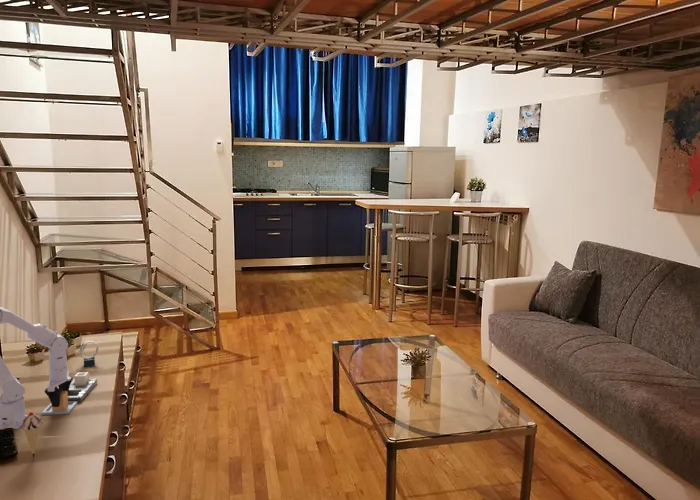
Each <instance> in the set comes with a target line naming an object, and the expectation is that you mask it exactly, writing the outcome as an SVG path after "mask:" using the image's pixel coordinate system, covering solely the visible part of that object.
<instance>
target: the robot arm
mask: <svg viewBox="0 0 700 500" xmlns="http://www.w3.org/2000/svg"><path fill="white" fill-rule="evenodd" d="M6 323H7V324H10V325H12V326H14V327H15V328H18V329H19V330H22V331H24V332H25V333H27V338H28V339H30V340H32V341H34V342H36V343H37V344H39V345H41V346H43V347H46V348H48V367H49V370H48V371H49V373H48V374H49V379H48V386H47V387H46V388H45V389H44V393H45V395H46V396H47V397H48V399H49V402H50V403H51V404H52V407H59V405H60V397H61V393H62V391H67V392H68V393H69V388H70V384H71V382H72V380H73V379H74V378H73V376H70V375H71V373H70V370H68V360H67V359H68V358H67V349H68V348H69V343H68V340H67V339H66V338H65V337H64V336H62V335H61V334H60V333H59V332H58V331H57V330H55V331H54V330H51V329H50V328H48V326H47V325H46V324H44V323H42V324H41V323H34V324H33V323H31V322H30V321H28V320H26V319H25V318H23V317H21V316H19V315H18V314H17V313H14V312H12V311H10V310H9V309H7V308H4V307H2V306H0V324H1V325H2V324H6ZM25 392H26V390H25V386H24V385H23V384H22V383H21V382H20V381H19V379H18V378H17V377H16V376H14V375H13V374H12V373H11V371H10V369H9V367H7V365H6V363H5V361H4V359H3V358H2V356H1V355H0V393H1V394H0V430H5V429H4V428H13V430H14V429H19V428H21V424H22V423H23V420H24V418H25V416H27V415H28V414H26V408H25V407H26V406H25V405H26V404H25Z"/></svg>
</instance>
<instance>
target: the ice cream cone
mask: <svg viewBox="0 0 700 500" xmlns="http://www.w3.org/2000/svg"><path fill="white" fill-rule="evenodd" d="M26 415H27V416H25V418H24V420H23V423H22V424H21V426H20V428H21V429H23V431H24V433H25V435H26V439H27V442H28V445H29V448H30V451H31V454H32V458H35V455H36V447H37V444H38V438H39V432H40V427H41V426H42V425H43V423H44V422H43V420H42V419H41V416H40V415H38V413H35V412H29V413H28V414H26Z"/></svg>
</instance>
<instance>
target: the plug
mask: <svg viewBox="0 0 700 500" xmlns="http://www.w3.org/2000/svg"><path fill="white" fill-rule="evenodd" d="M68 396H69V395H68V392H67V391H62V393H61V397H60V405H59V407H52V411H64V410H65V409H66V408H67V407H68Z"/></svg>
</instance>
